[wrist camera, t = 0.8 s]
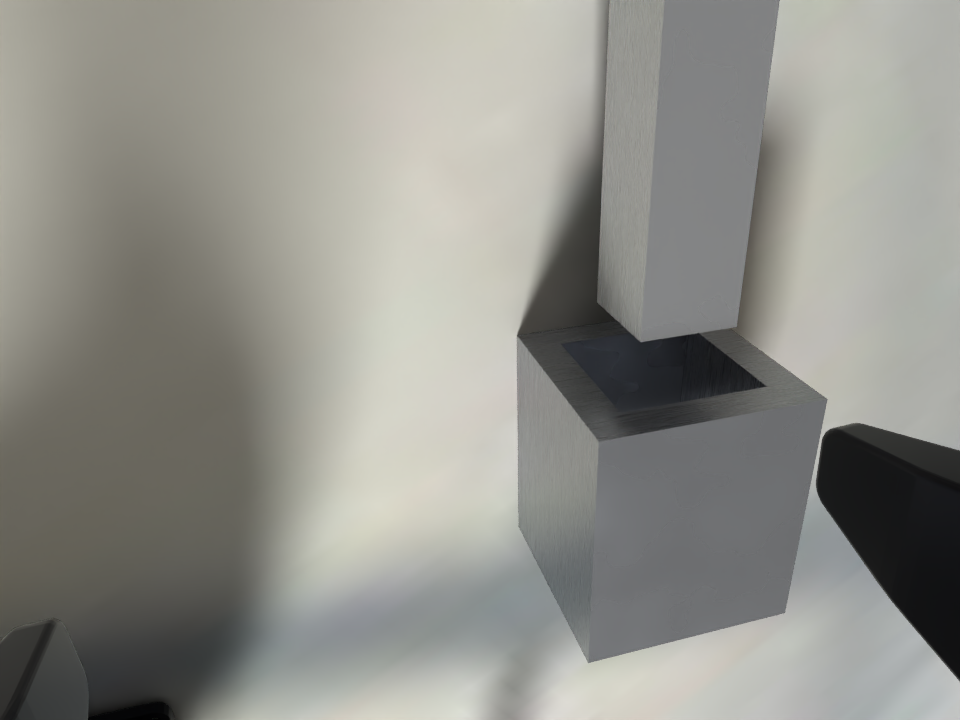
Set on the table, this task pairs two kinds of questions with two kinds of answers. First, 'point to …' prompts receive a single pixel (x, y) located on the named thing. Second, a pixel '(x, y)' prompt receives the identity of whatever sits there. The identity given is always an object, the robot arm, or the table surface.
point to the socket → (661, 480)
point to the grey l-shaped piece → (681, 160)
